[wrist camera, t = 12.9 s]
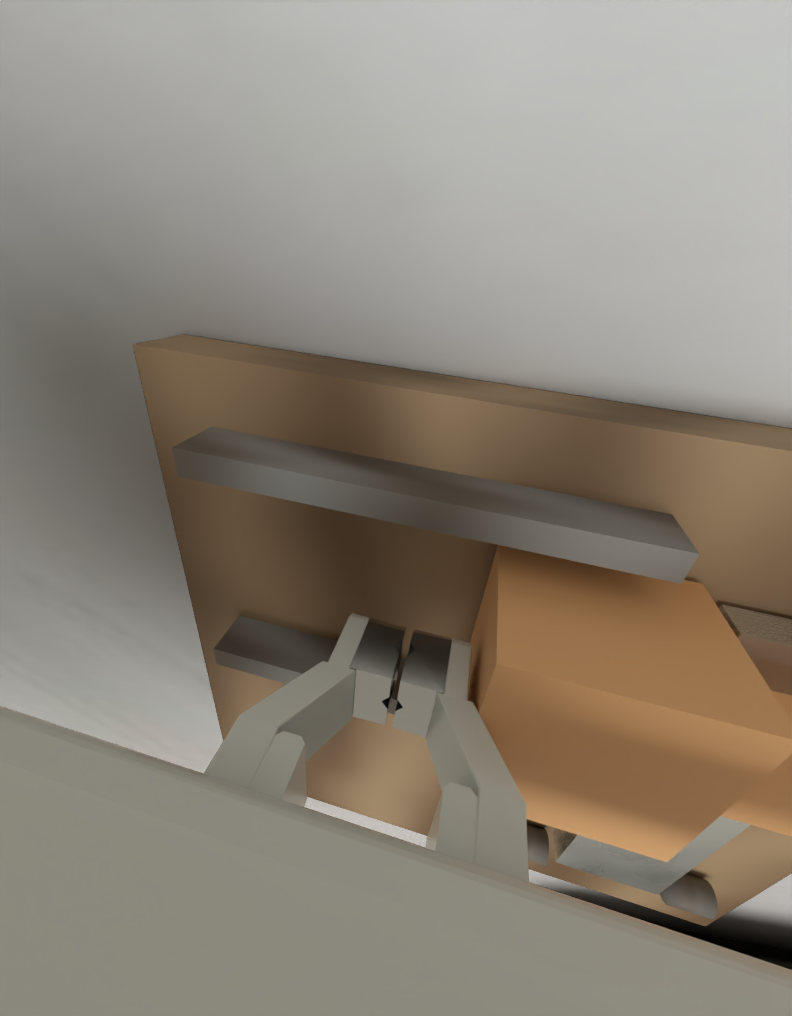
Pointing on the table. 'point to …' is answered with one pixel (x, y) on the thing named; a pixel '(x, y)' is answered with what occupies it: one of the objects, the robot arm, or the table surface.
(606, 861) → the grey flat bar
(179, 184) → the table surface
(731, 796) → the bolt
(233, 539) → the base
